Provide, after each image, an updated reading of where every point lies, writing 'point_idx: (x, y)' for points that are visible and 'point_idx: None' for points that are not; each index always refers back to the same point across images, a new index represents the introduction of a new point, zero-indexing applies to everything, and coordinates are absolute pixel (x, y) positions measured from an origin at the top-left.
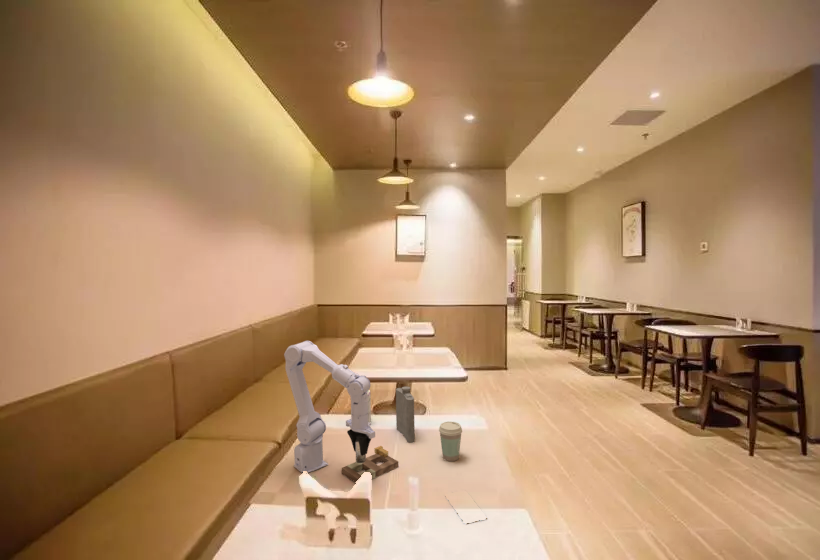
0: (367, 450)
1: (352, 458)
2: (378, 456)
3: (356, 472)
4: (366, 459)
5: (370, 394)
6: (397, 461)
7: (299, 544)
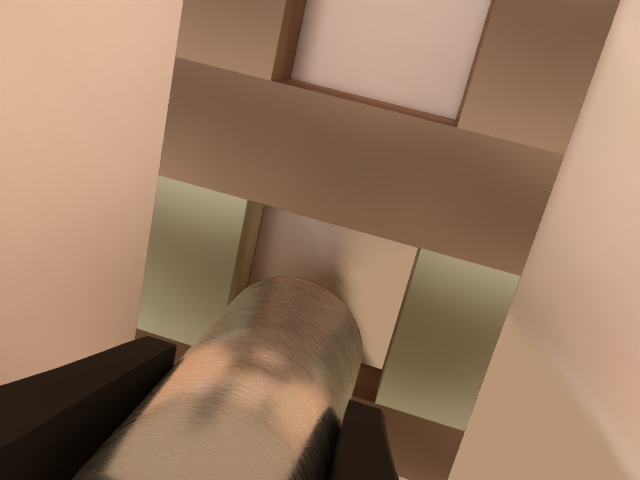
0: (386, 439)
1: (4, 54)
2: None
3: None
4: (212, 83)
5: None
6: None
7: None
